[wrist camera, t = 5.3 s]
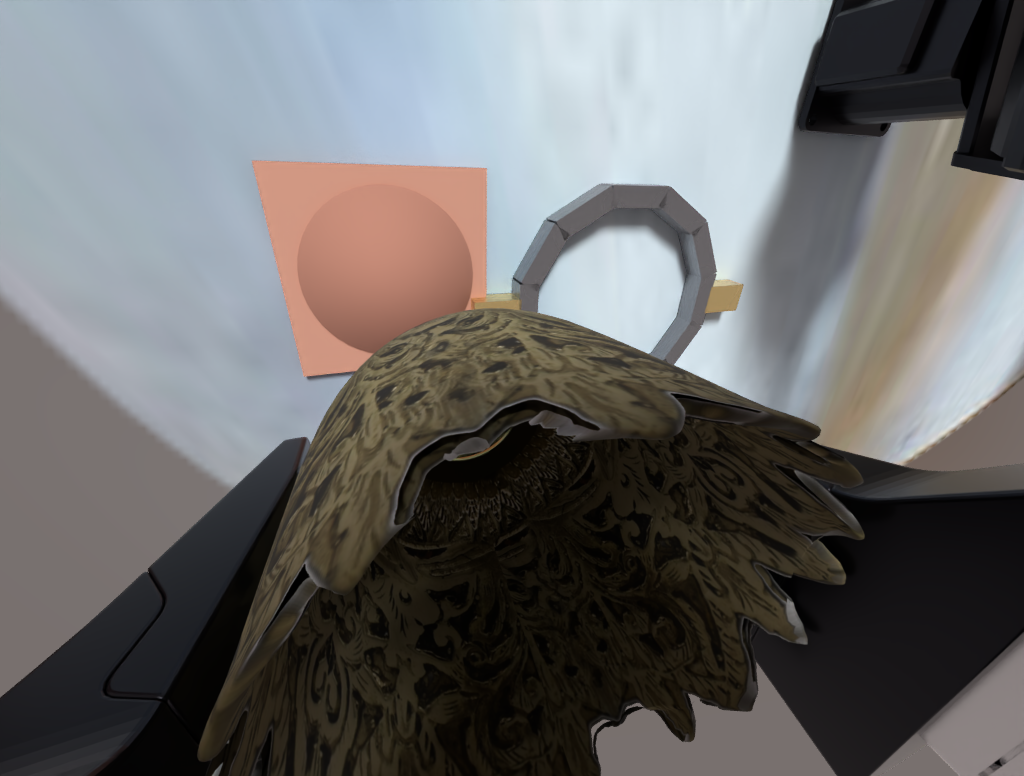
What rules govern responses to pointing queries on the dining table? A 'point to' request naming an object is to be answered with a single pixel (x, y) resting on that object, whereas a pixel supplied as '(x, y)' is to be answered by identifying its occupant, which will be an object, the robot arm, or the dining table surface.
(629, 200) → the collar
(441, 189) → the coaster
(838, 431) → the dining table surface
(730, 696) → the cup
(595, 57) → the dining table surface
